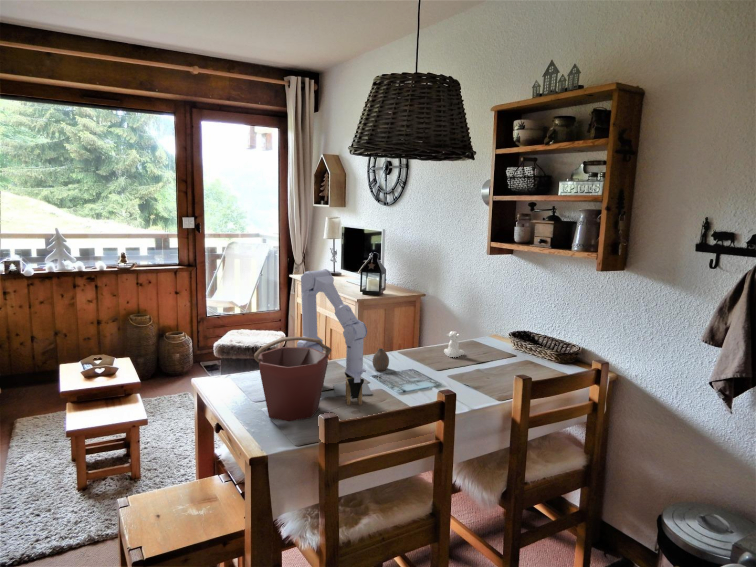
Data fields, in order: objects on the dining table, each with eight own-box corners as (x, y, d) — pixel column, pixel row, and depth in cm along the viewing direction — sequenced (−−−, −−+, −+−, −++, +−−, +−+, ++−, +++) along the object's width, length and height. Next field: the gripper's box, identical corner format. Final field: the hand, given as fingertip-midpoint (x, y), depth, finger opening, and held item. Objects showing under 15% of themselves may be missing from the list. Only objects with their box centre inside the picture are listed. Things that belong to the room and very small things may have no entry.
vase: (387, 373, 208) (387, 352, 207) (370, 371, 209) (371, 350, 208) (390, 367, 215) (390, 347, 213) (374, 366, 216) (374, 346, 215)
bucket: (331, 398, 180) (333, 329, 176) (327, 426, 158) (329, 348, 154) (261, 397, 179) (261, 328, 175) (248, 425, 157) (247, 346, 153)
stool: (347, 404, 175) (347, 382, 173) (345, 399, 180) (345, 377, 178) (361, 404, 176) (362, 382, 174) (359, 398, 180) (360, 377, 179)
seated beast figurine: (464, 354, 237) (466, 329, 235) (463, 359, 228) (464, 333, 227) (444, 352, 239) (445, 327, 237) (442, 357, 231) (443, 332, 229)
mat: (336, 396, 181) (336, 395, 181) (333, 385, 192) (333, 384, 192) (372, 395, 184) (372, 393, 184) (367, 384, 194) (367, 382, 194)
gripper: (369, 363, 169) (368, 402, 171) (362, 350, 183) (361, 387, 185) (348, 364, 167) (347, 403, 170) (343, 351, 181) (342, 387, 184)
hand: (353, 395), depth 177 cm, fingers closed on stool, 5 cm apart
